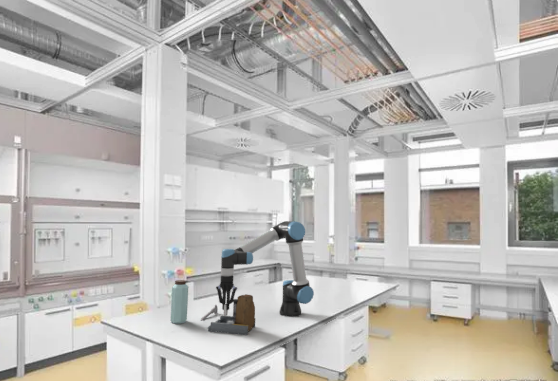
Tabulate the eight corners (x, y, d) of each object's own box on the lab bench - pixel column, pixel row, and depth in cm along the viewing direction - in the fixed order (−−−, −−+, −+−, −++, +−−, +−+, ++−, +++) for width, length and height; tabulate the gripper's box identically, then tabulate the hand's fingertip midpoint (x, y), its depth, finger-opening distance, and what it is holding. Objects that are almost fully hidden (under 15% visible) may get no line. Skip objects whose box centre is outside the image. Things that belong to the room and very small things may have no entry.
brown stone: (242, 333, 207) (244, 297, 208) (233, 330, 212) (235, 295, 213) (255, 329, 215) (257, 295, 216) (247, 326, 220) (249, 292, 221)
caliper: (216, 313, 250) (216, 304, 250) (217, 313, 250) (217, 304, 250) (200, 321, 231) (200, 310, 231) (201, 321, 230) (202, 310, 231)
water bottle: (190, 320, 230) (192, 280, 232) (180, 324, 220) (182, 282, 222) (176, 318, 233) (178, 279, 235) (166, 322, 223) (169, 281, 225)
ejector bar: (242, 324, 223) (243, 297, 224) (233, 333, 206) (234, 303, 207) (236, 324, 224) (237, 296, 225) (226, 332, 206) (227, 302, 208)
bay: (255, 326, 220) (255, 318, 221) (247, 335, 204) (247, 325, 205) (218, 323, 225) (218, 314, 226) (207, 331, 209) (208, 321, 210)
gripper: (239, 274, 221) (237, 314, 219) (219, 273, 223) (217, 313, 222) (235, 276, 213) (233, 318, 211) (214, 275, 216) (212, 316, 214)
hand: (225, 315), depth 216 cm, fingers closed
